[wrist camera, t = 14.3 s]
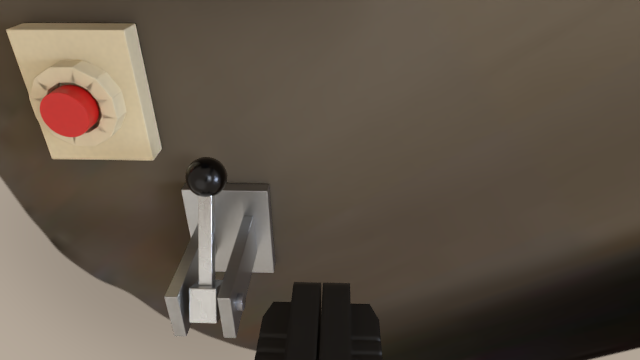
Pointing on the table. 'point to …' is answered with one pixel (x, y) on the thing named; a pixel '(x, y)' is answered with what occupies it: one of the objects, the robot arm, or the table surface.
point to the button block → (91, 86)
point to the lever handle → (205, 238)
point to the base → (226, 252)
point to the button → (69, 110)
